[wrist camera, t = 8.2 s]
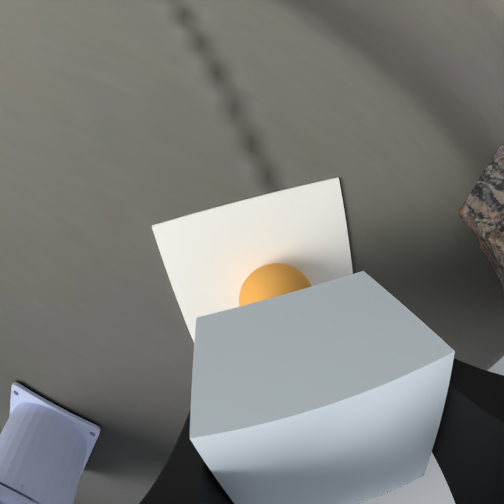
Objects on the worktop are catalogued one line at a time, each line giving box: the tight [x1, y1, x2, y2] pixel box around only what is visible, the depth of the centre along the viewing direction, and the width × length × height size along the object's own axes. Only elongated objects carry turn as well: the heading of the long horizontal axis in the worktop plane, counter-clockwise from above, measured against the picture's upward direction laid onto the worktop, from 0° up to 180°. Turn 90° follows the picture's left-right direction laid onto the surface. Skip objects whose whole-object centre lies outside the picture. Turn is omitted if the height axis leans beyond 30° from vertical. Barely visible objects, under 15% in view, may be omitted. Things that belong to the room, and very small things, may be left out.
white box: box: [190, 271, 455, 504], centre depth 9 cm, size 6×6×5 cm
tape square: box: [152, 177, 353, 342], centre depth 18 cm, size 10×10×1 cm
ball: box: [239, 263, 312, 307], centre depth 16 cm, size 4×4×4 cm
